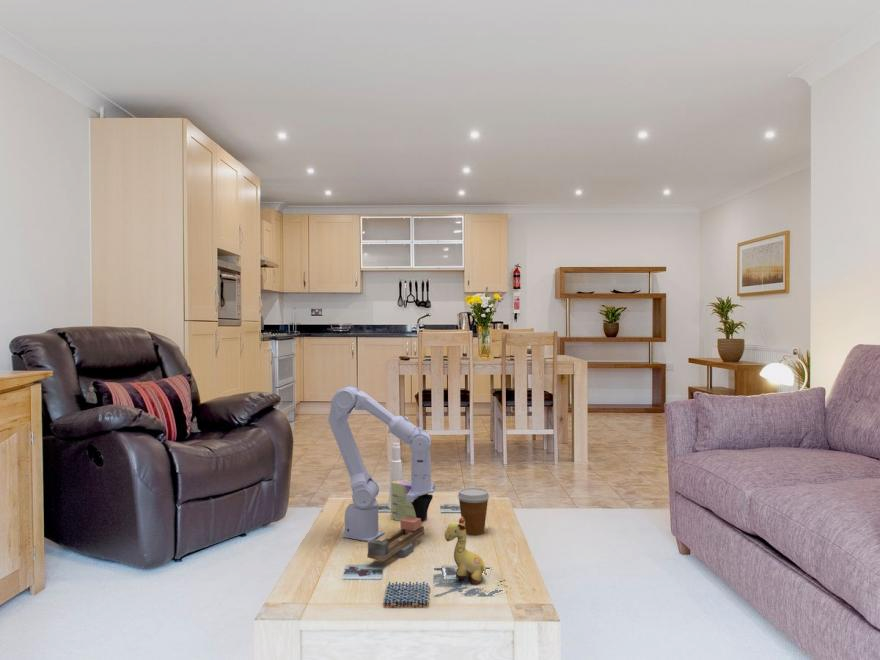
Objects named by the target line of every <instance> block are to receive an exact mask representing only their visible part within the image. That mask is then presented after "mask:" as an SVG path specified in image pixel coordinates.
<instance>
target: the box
mask: <svg viewBox="0 0 880 660" xmlns="http://www.w3.org/2000/svg"><path fill="white" fill-rule="evenodd" d="M410 489H411V480H409V479H400V480H397V481H394V482H392V483H391V510H390V517H391V520H396V521H400V520H402V519H404V518H405V517H407V516H408V517H415V518H416V514H415V510H414V507H413V505H412V503H411V502H407V501H406V494H408V493H409V491H410ZM426 521H428V514H427V515H426V519H425V521H421V524H423V523H424V522H426Z"/></svg>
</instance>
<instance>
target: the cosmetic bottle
mask: <svg viewBox="0 0 880 660" xmlns="http://www.w3.org/2000/svg"><path fill="white" fill-rule="evenodd" d="M400 444H401V443H400V442H393V443H392V447H391V449H392V450H391V461H390V474H389V475H390V476H389V477H390V479H389V491H388V492H389V495H388V503H387V508H388V507H389V508H390V509H391V483H392V482H394V481H397V480H400V479H403V464H402V459H401V445H400ZM403 480H404V479H403Z"/></svg>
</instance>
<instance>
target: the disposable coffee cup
mask: <svg viewBox="0 0 880 660" xmlns="http://www.w3.org/2000/svg"><path fill="white" fill-rule="evenodd" d="M457 498H458V500H459V502H458V503H459V511H460V518H461V517H464V519H465V527H466V528H465V530H466V535H469V536H480V535H482V534H485V528H486V520H487V510H488V502H489V499H490V494H489V492H488V490H487V489H483V488H479V487H468V488H463V489H462V488H461V489H460V490H459V491H458V494H457Z"/></svg>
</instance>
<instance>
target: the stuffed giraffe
mask: <svg viewBox="0 0 880 660" xmlns="http://www.w3.org/2000/svg"><path fill="white" fill-rule="evenodd" d="M465 528H466V527H465V519H464V517H461V516H460V518H459V519H458V521H453V522H450V523H449V524H448V526H447V527H446V529H445V531H444V538H445V540H446V542H451V541H453V540H454V539H456V538H457V541H456V544H455V546H454V552H453V559H454V562H455V565H456V567H458V569H457V572H456V577H455V581H449V580H447V579H444V576H443V574H444V573H437V574H433V577H432V579H433V581H432V582H433V584H434V585H433V587H432V588H433V589H435V587H436V588H450V589H449V590H448V591H447V590H446V591H445V592H441V593H437V594H435V595H434V597H443V596H445V595H447V594H451V593H454V592H455V593H456V592H458V593H460V595H461V596H464V597H476V596H477V597H480V596H481V597H492V596H491V595H493V594H495V593H499V592H501V591H503V590H499V591H498V590H497V589H494V590H495V591H492V592H491V591H489V592H490V593H488V595H486V594H485V593H486V590H484V589H485V587H480V588H479V587H473V588H470V589H468V588H469V586H465V587H464V586H462V585H467V584H471V585H474V586H477V585H479V584H480V583H481V581H482V580H483V579H482V578H483V575H482V573H483V571H484V574H485V575H484V576H487V573H486V569H490V568H491V567H486V565H485V561H484V560H483V558H482V557H480V555H478V554H476V553H474V552H472V551H469V550H467V549H466V544H467V534H466V530H465ZM442 568H443V567H434V568H433V570H434V571H441V572H442ZM464 589H465V592H464ZM466 589H468V590H466ZM484 595H485V596H484ZM495 595H496V594H495ZM493 596H494V595H493Z"/></svg>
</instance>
